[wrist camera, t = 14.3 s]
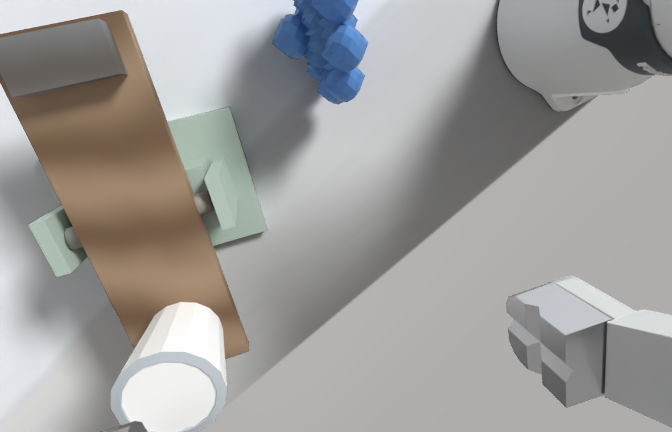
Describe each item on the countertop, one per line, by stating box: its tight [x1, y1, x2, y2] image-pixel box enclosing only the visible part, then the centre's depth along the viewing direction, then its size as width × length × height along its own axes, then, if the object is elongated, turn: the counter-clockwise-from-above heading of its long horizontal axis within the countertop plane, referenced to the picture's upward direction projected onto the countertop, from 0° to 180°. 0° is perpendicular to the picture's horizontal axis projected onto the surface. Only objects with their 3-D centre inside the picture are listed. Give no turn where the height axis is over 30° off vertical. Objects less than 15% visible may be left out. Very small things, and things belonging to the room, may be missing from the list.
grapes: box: [272, 0, 368, 104], centre depth 29 cm, size 12×7×12 cm, turn 18°
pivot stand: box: [28, 107, 267, 277], centre depth 31 cm, size 16×12×10 cm
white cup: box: [111, 302, 227, 432], centre depth 27 cm, size 7×7×7 cm
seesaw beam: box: [0, 10, 249, 359], centre depth 27 cm, size 26×10×4 cm, turn 15°
